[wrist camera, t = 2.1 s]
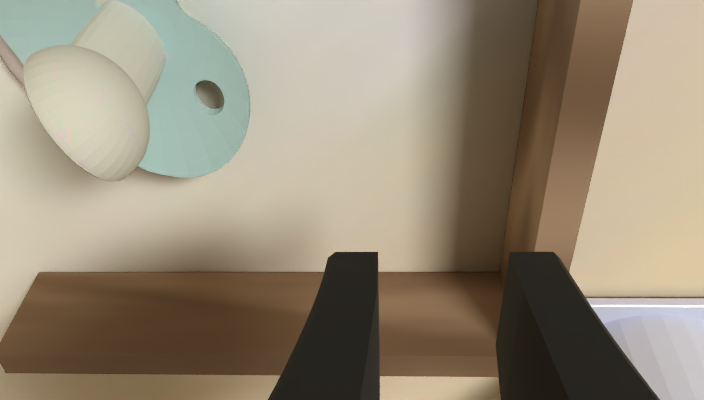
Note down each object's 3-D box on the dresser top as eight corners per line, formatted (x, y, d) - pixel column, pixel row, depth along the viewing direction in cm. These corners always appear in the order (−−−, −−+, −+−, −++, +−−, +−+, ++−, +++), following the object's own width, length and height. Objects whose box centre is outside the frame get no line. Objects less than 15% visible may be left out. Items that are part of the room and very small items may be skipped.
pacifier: (128, 171, 21) (288, 94, 19) (45, 330, 16) (245, 252, 14) (-67, -33, 17) (106, -160, 15) (-253, 98, 12) (-38, -61, 10)
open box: (525, 292, 23) (544, 377, 21) (48, 292, 24) (5, 373, 22) (684, -574, 11) (785, -648, 8) (-331, -507, 12) (-550, -554, 9)
